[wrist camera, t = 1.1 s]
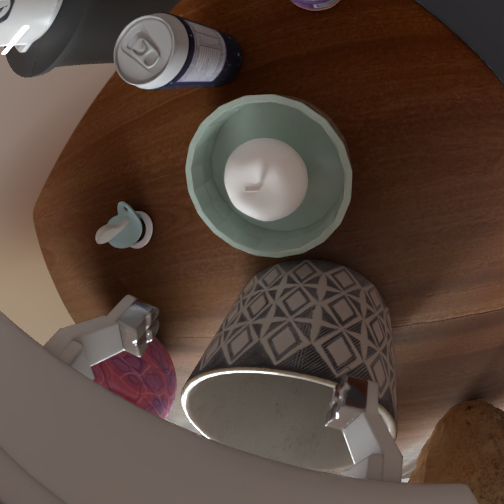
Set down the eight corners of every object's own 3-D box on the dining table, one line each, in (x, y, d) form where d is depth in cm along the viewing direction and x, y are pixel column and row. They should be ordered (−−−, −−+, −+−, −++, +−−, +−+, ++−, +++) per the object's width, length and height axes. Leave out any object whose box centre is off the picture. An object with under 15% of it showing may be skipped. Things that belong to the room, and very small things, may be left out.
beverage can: (220, 22, 22) (146, -6, 12) (258, 60, 24) (198, 44, 14) (181, 60, 25) (97, 57, 15) (214, 98, 27) (139, 108, 17)
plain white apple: (272, 116, 26) (244, 125, 19) (328, 171, 27) (321, 199, 20) (226, 167, 29) (188, 193, 23) (277, 216, 30) (255, 256, 24)
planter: (423, 290, 30) (446, 417, 16) (343, 382, 41) (326, 482, 27) (267, 218, 31) (198, 325, 18) (223, 332, 42) (172, 427, 29)
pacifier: (163, 222, 36) (130, 190, 35) (135, 248, 31) (97, 211, 30) (139, 254, 40) (109, 225, 39) (113, 280, 35) (81, 248, 34)
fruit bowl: (187, 180, 32) (163, 196, 28) (255, 66, 24) (236, 62, 20) (293, 257, 33) (284, 284, 29) (381, 157, 25) (388, 170, 21)
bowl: (429, 445, 45) (421, 551, 24) (380, 406, 41) (361, 549, 21) (525, 400, 32) (539, 514, 12) (504, 343, 29) (537, 506, 8)
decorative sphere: (218, 374, 48) (167, 474, 32) (145, 377, 58) (97, 448, 41) (147, 281, 42) (58, 381, 25) (86, 304, 51) (19, 373, 35)
